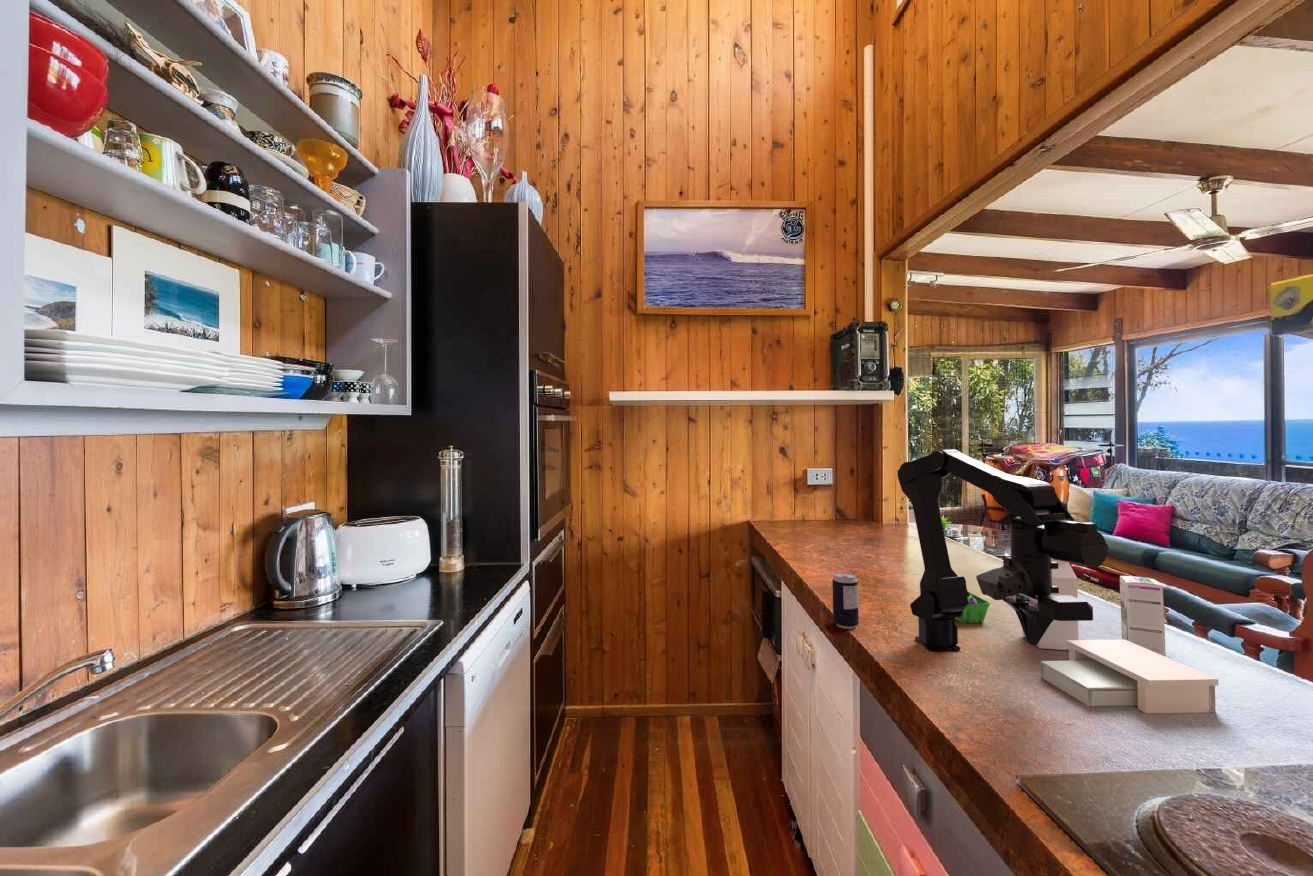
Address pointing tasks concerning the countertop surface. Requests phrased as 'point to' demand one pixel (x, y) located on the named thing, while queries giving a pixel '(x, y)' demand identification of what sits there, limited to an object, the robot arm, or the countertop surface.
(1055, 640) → the milk carton
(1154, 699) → the overhang
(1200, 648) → the countertop surface
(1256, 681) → the countertop surface
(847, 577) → the beverage can
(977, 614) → the fruit basket
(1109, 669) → the cream rectangular slab
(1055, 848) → the countertop surface
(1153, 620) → the syrup box
